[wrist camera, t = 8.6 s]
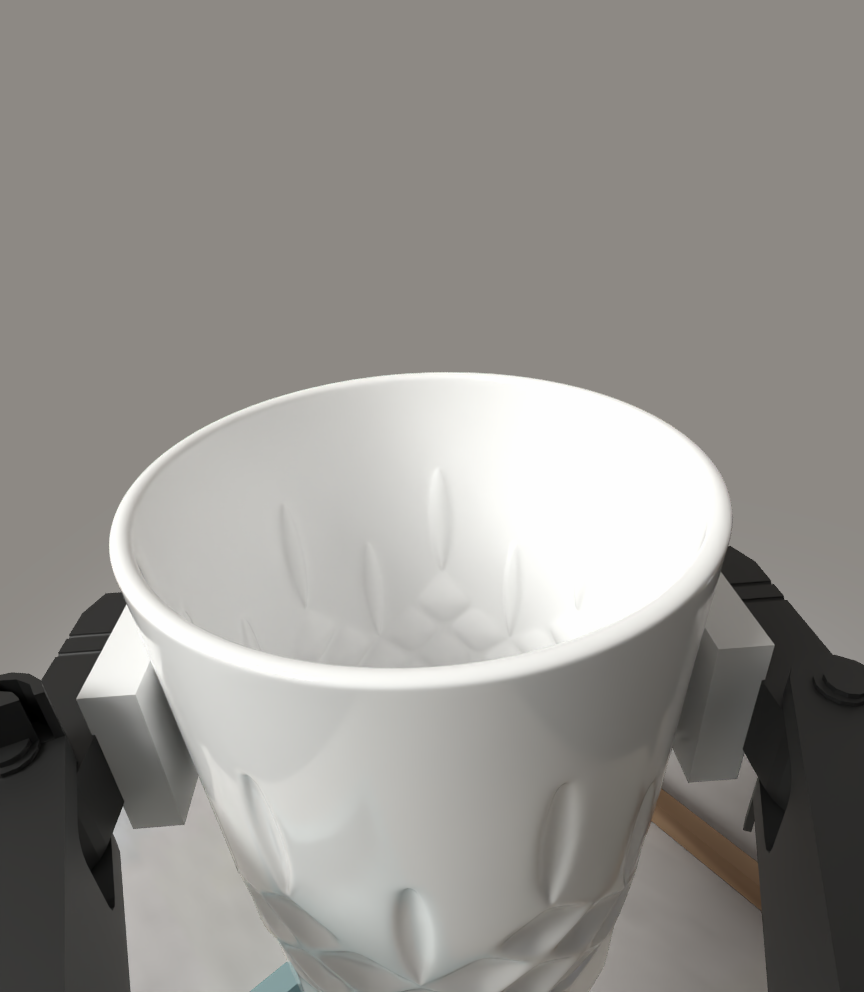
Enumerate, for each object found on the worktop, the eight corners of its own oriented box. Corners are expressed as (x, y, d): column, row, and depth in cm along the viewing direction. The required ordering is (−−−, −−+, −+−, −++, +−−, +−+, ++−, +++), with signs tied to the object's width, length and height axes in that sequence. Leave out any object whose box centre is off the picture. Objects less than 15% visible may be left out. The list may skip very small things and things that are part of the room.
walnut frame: (590, 752, 31) (592, 735, 31) (901, 999, 22) (912, 981, 22) (357, 949, 24) (354, 932, 24) (670, 1426, 15) (677, 1417, 15)
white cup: (265, 763, 17) (171, 394, 12) (562, 714, 18) (589, 354, 13) (237, 1193, 10) (-9, 753, 5) (719, 1078, 11) (906, 611, 6)
